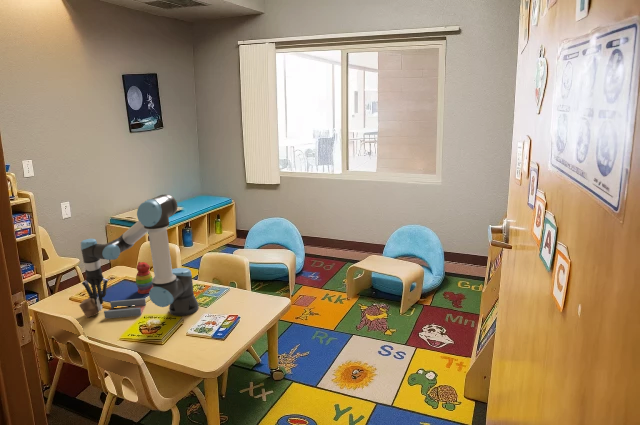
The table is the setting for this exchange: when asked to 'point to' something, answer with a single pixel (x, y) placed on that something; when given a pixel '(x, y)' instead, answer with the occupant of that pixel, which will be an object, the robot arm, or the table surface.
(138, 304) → the trap trough
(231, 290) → the table surface
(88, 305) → the walnut block
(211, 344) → the table surface
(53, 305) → the table surface
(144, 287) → the stacking bear
